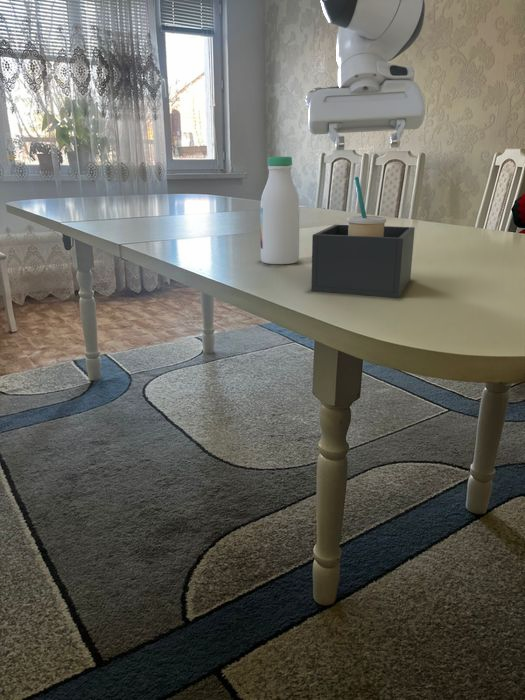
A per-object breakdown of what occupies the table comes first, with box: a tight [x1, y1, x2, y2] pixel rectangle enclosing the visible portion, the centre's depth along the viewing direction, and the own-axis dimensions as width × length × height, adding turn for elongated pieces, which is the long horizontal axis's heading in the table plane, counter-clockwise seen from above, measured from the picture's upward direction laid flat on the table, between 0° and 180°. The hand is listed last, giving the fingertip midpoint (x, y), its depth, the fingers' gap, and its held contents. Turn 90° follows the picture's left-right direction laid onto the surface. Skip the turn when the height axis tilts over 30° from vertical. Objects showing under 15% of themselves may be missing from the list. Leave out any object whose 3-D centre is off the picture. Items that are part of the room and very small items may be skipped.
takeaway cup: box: [347, 176, 387, 237], centre depth 86 cm, size 6×6×16 cm
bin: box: [310, 223, 416, 299], centre depth 88 cm, size 14×14×9 cm
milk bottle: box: [259, 156, 300, 265], centre depth 106 cm, size 8×8×20 cm
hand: (367, 146), depth 94 cm, fingers open, 8 cm apart
